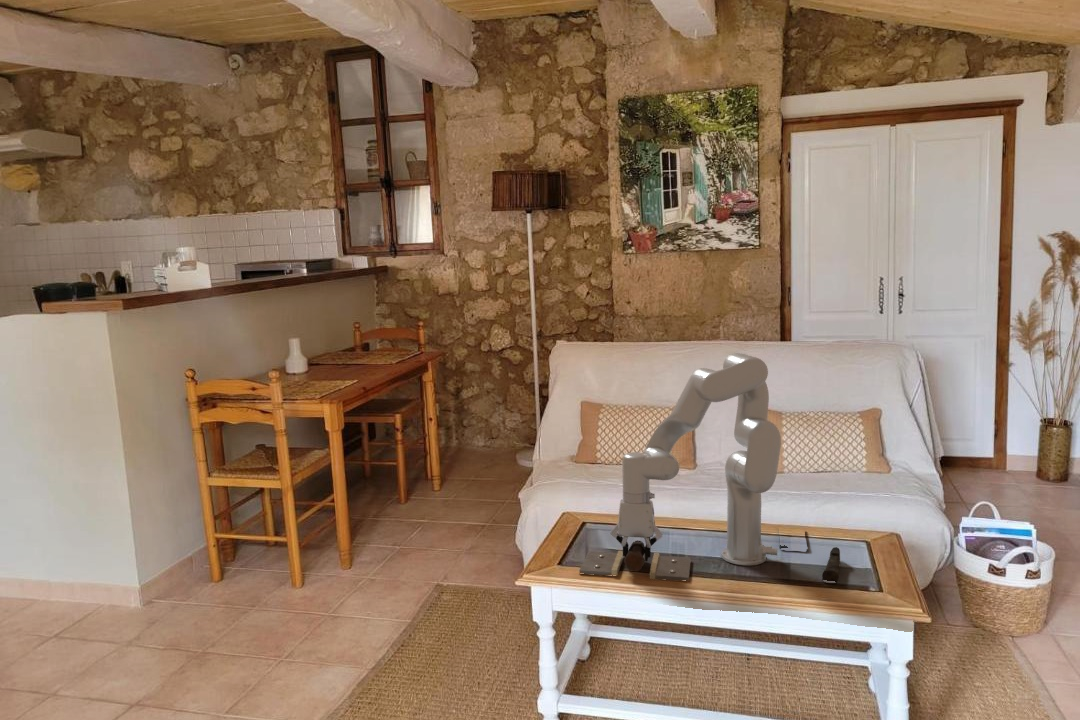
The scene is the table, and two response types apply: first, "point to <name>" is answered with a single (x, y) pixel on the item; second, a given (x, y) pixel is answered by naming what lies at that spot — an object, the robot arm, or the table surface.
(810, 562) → the table surface
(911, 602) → the table surface
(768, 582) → the table surface
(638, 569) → the bolt
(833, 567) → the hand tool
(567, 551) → the table surface
